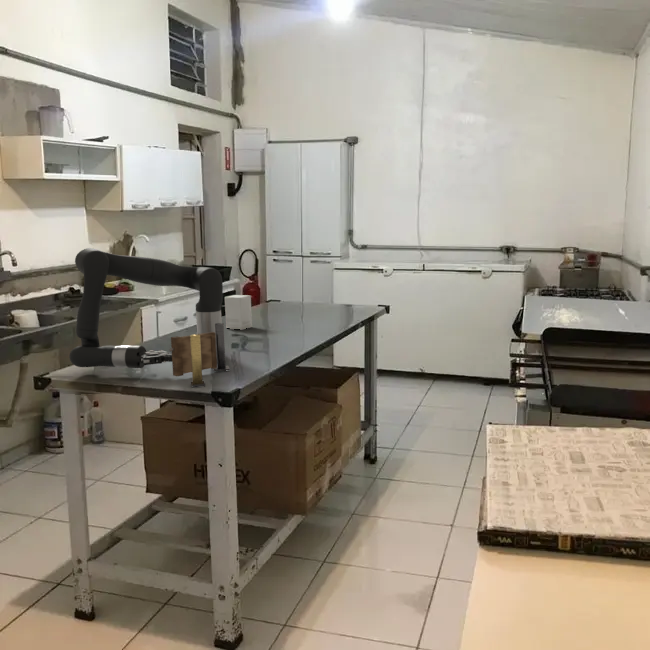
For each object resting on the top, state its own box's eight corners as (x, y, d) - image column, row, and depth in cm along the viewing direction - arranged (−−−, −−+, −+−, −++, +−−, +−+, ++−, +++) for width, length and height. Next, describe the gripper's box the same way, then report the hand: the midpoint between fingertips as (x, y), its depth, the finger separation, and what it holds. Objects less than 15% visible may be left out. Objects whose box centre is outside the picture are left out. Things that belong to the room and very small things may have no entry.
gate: (213, 367, 236) (211, 330, 234) (217, 368, 235) (215, 331, 233) (170, 375, 225) (167, 337, 223) (173, 377, 223) (171, 338, 221)
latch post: (191, 384, 219) (188, 334, 216) (203, 383, 219) (201, 333, 217) (191, 387, 215) (188, 336, 212) (204, 386, 216) (202, 335, 213)
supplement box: (252, 327, 322) (251, 295, 320) (241, 330, 314) (240, 297, 312) (236, 326, 326) (235, 294, 324) (225, 329, 319) (224, 296, 316)
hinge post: (213, 368, 239) (210, 323, 237) (228, 367, 240) (226, 322, 238) (214, 372, 234) (212, 325, 232) (229, 371, 235) (227, 324, 233)
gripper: (118, 349, 224) (168, 350, 220) (138, 341, 236) (185, 342, 233) (120, 372, 225) (169, 374, 221) (139, 363, 238) (186, 364, 234)
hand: (177, 358), depth 227 cm, fingers closed
